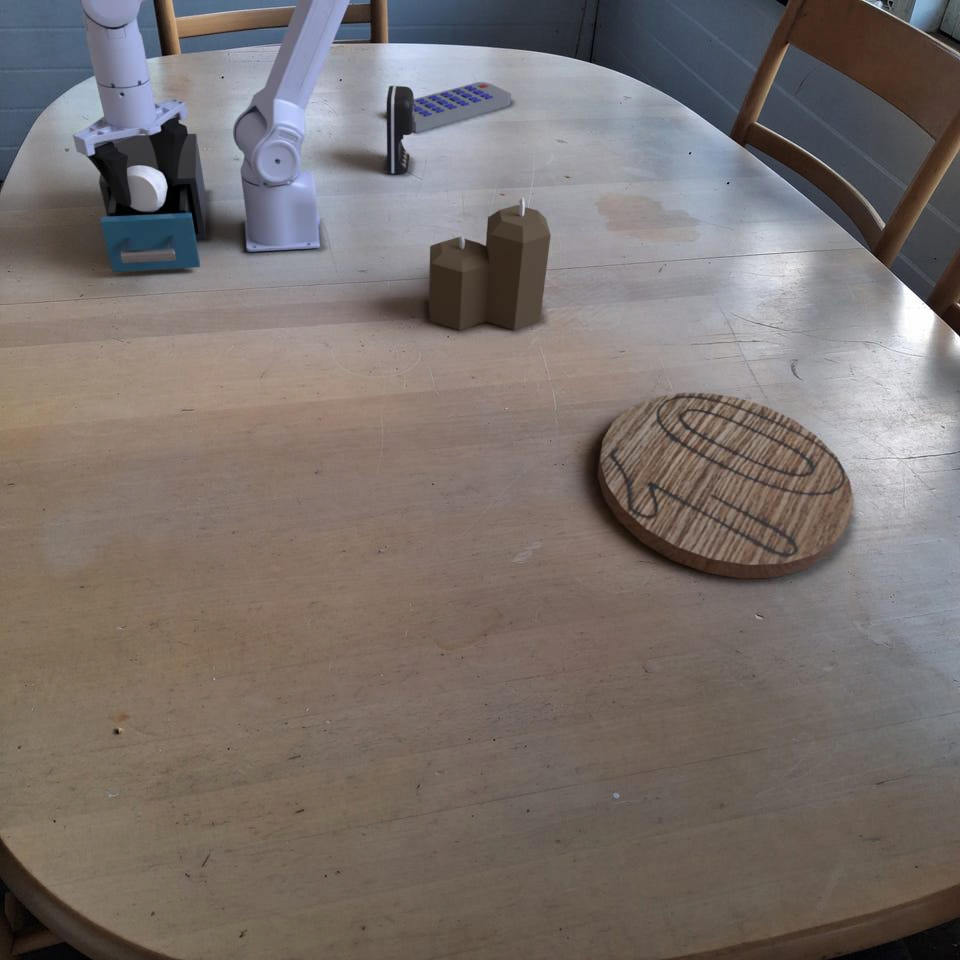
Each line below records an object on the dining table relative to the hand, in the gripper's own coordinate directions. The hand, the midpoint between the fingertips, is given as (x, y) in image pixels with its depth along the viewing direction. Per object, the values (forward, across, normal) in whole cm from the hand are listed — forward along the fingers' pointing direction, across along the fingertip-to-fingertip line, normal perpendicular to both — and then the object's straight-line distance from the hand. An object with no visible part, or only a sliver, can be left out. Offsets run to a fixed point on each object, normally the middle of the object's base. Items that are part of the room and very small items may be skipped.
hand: (146, 193), depth 110 cm
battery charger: (+9, +42, -7) cm, 43 cm away
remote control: (+9, +64, 0) cm, 65 cm away
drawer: (+8, -1, -1) cm, 8 cm away
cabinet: (+9, +7, +8) cm, 14 cm away
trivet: (+9, +6, -76) cm, 77 cm away
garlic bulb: (+2, 0, 0) cm, 2 cm away
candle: (+9, +18, -39) cm, 44 cm away
